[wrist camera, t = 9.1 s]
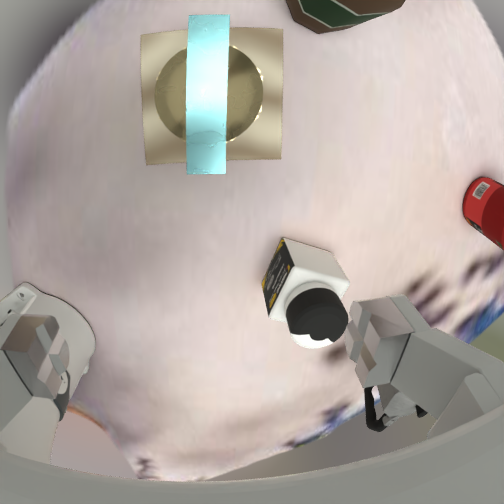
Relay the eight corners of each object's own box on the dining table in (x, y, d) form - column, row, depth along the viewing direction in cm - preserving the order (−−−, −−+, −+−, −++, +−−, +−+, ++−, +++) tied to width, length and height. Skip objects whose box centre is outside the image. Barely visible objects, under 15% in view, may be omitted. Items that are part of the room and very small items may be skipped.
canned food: (456, 225, 40) (503, 261, 30) (466, 173, 36) (520, 202, 26) (487, 224, 40) (532, 257, 31) (498, 177, 37) (547, 204, 27)
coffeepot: (383, 285, 43) (444, 376, 28) (419, 304, 46) (475, 384, 30) (322, 356, 49) (354, 450, 33) (361, 367, 52) (396, 450, 36)
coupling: (256, 39, 25) (272, 16, 16) (251, 149, 30) (265, 173, 21) (169, 40, 24) (147, 18, 15) (169, 150, 29) (148, 175, 20)
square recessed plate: (278, 156, 33) (291, 170, 28) (149, 162, 32) (134, 177, 26) (280, 31, 27) (293, 18, 21) (144, 37, 26) (127, 25, 20)
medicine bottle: (281, 236, 38) (305, 295, 28) (332, 251, 40) (368, 310, 29) (260, 284, 41) (274, 351, 31) (309, 295, 43) (334, 360, 32)
